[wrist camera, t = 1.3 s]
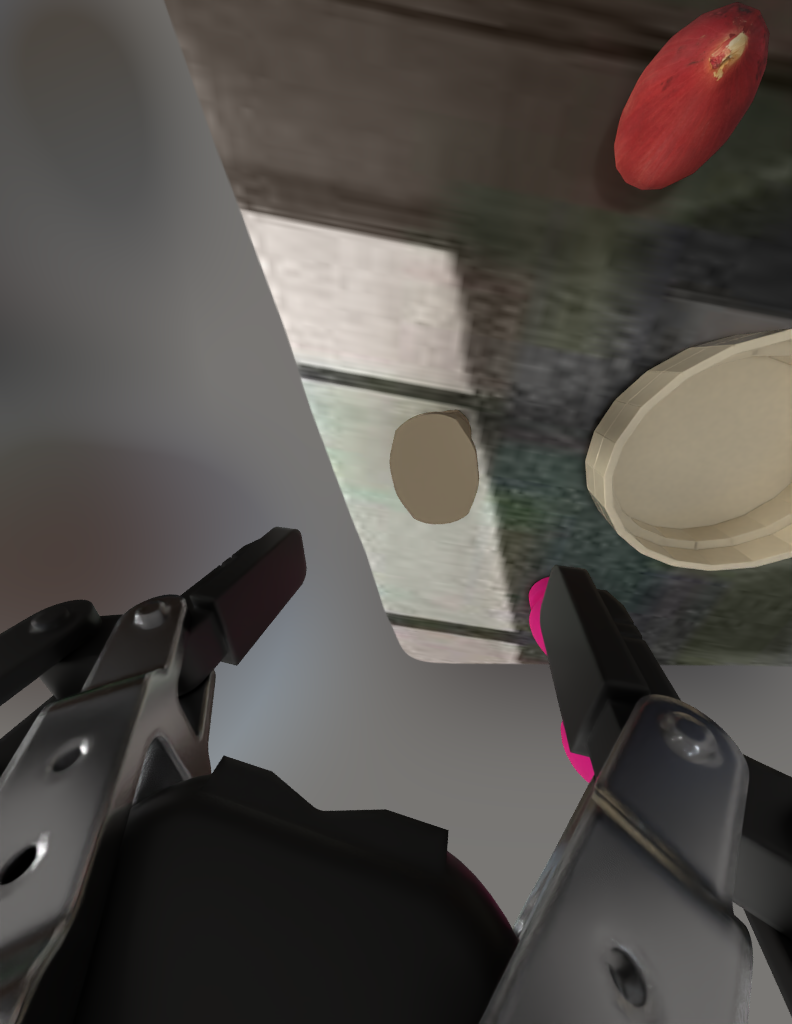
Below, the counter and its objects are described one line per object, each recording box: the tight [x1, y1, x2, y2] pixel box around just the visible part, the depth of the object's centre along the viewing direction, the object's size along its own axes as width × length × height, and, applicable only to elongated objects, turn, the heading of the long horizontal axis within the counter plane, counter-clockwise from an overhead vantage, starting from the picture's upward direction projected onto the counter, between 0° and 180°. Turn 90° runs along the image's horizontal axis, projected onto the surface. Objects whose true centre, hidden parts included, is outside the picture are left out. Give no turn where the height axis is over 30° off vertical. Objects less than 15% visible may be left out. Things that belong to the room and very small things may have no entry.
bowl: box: [585, 328, 792, 571], centre depth 23 cm, size 17×17×6 cm
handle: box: [390, 410, 479, 524], centre depth 23 cm, size 5×6×15 cm
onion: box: [614, 2, 770, 190], centre depth 16 cm, size 6×6×8 cm
